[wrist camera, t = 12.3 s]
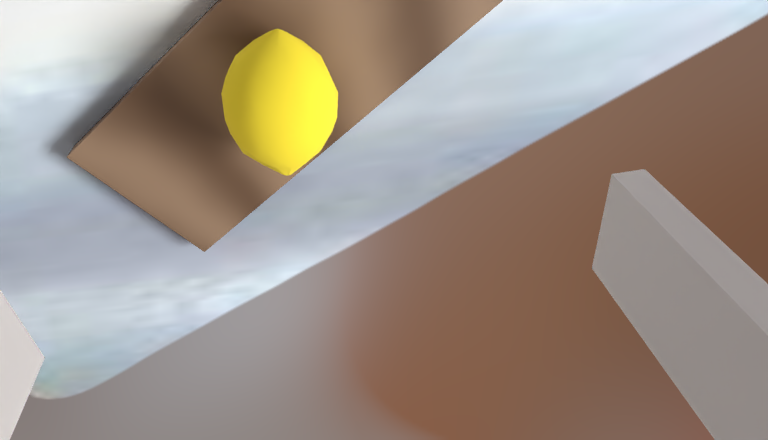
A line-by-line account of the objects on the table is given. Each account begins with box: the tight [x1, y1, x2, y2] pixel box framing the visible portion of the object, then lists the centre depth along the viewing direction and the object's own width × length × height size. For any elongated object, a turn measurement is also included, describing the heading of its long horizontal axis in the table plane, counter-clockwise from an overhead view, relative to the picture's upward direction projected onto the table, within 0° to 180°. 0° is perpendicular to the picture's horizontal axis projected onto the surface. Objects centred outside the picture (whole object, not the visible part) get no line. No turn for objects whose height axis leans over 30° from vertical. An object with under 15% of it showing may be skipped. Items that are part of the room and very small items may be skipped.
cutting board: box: [67, 0, 503, 252], centre depth 29 cm, size 22×9×1 cm, turn 129°
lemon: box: [221, 29, 338, 176], centre depth 26 cm, size 7×5×5 cm
